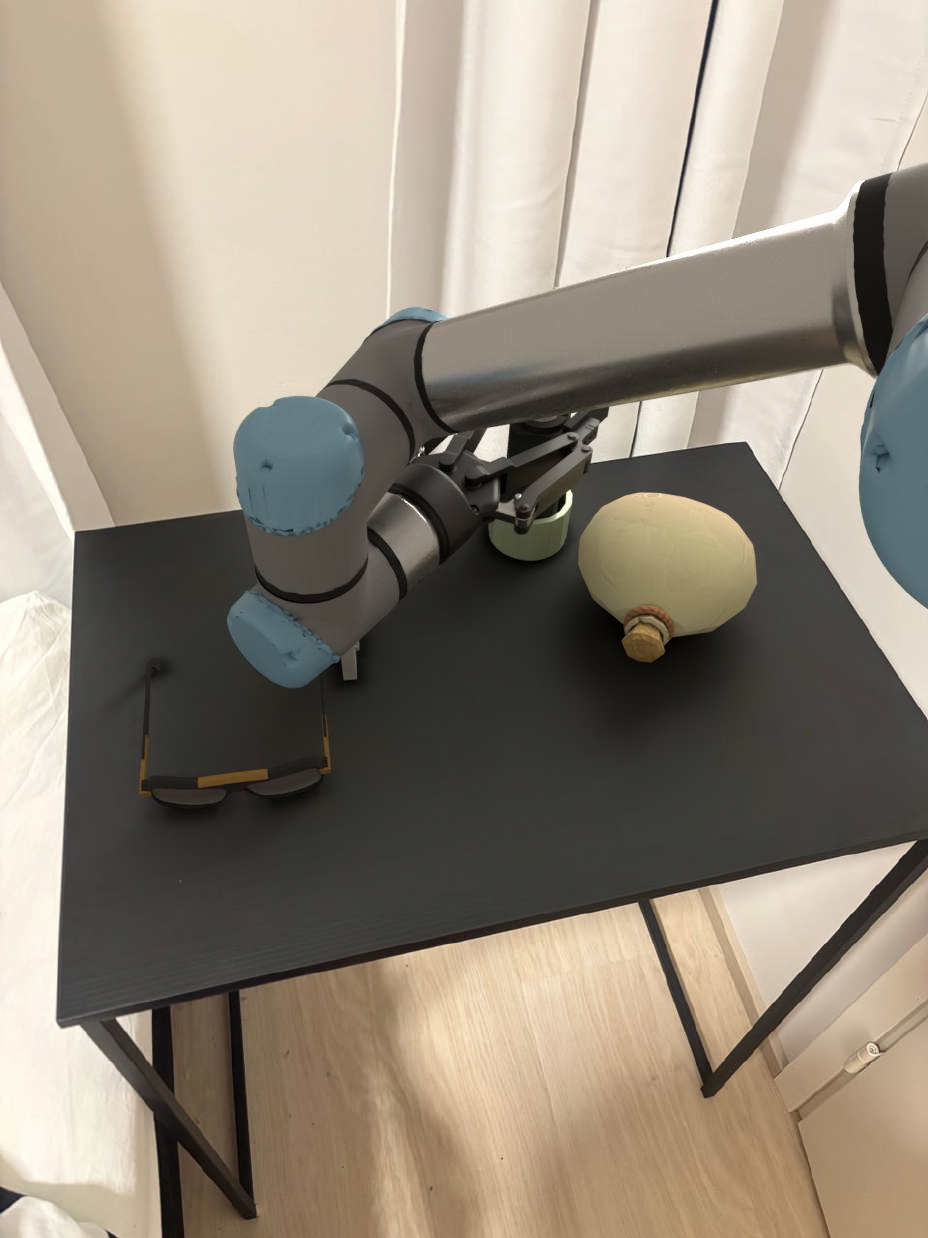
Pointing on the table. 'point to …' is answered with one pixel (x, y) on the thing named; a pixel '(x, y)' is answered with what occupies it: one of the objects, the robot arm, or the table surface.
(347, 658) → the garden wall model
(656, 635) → the flask
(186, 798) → the sunglasses
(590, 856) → the table surface
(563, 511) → the candle holder
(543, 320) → the robot arm
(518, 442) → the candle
